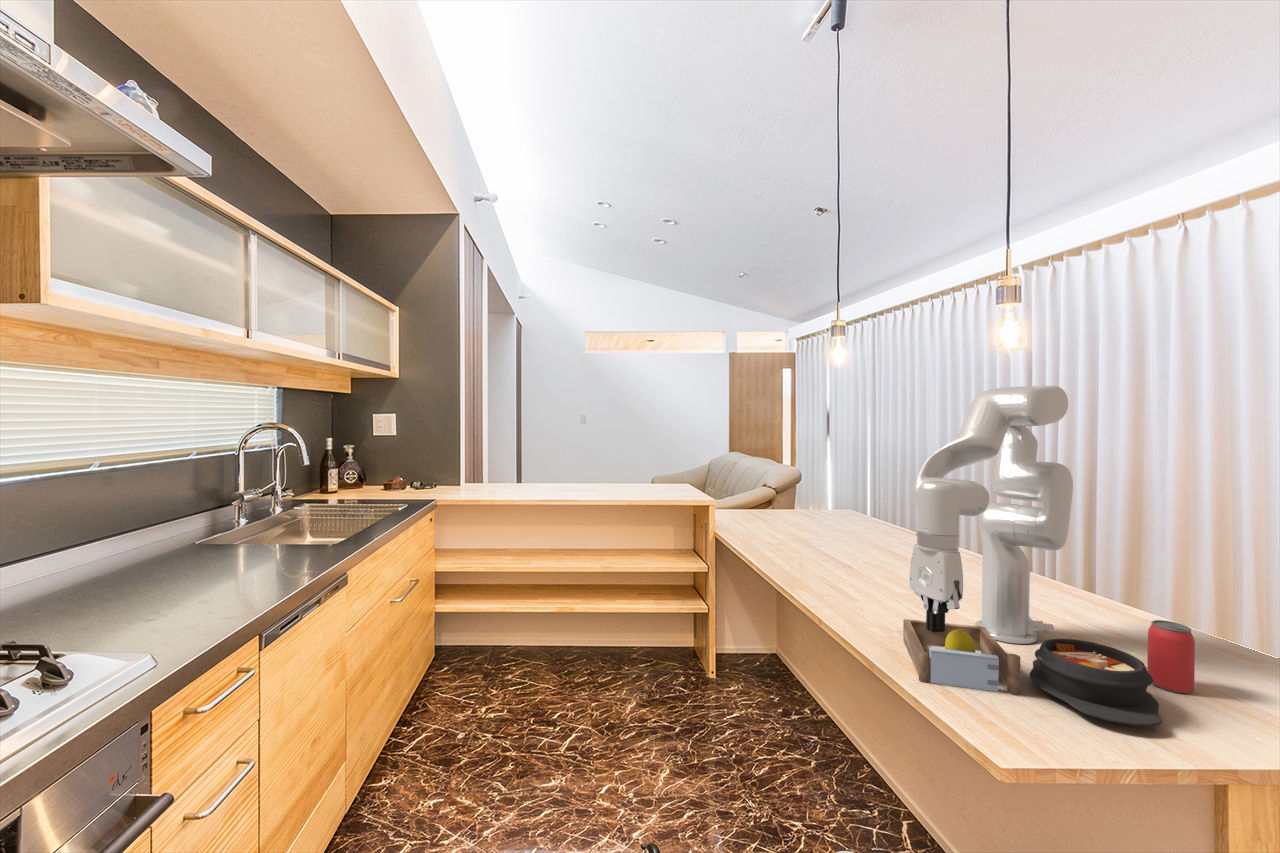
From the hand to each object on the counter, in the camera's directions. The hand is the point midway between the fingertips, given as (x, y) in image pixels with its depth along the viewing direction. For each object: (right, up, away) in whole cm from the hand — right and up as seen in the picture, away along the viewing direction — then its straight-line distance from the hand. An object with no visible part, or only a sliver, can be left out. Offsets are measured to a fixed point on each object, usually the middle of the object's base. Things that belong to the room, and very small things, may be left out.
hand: (935, 630), depth 112 cm
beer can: (+43, -9, -6) cm, 44 cm away
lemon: (+6, -9, +2) cm, 11 cm away
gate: (+2, -9, -6) cm, 11 cm away
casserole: (+23, -9, -10) cm, 27 cm away
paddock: (+6, -9, +4) cm, 11 cm away
